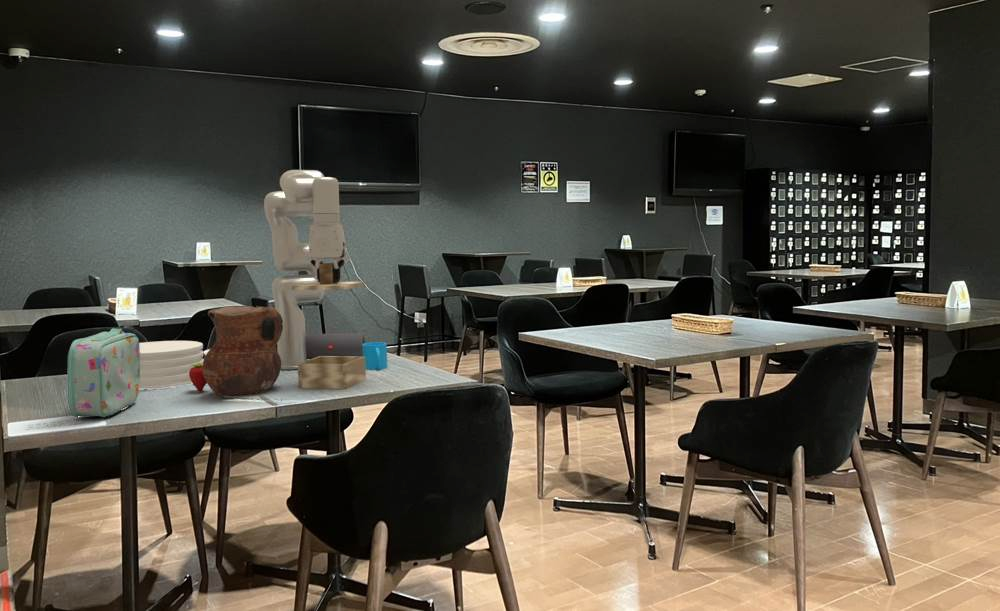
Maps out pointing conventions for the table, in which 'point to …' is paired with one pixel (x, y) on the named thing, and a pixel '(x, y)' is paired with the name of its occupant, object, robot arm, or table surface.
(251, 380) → the jug
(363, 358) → the storage box
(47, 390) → the table surface
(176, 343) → the plate stack
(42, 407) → the table surface
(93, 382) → the lunch box
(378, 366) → the mug
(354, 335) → the bluetooth speaker
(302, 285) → the lid
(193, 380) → the strawberry
